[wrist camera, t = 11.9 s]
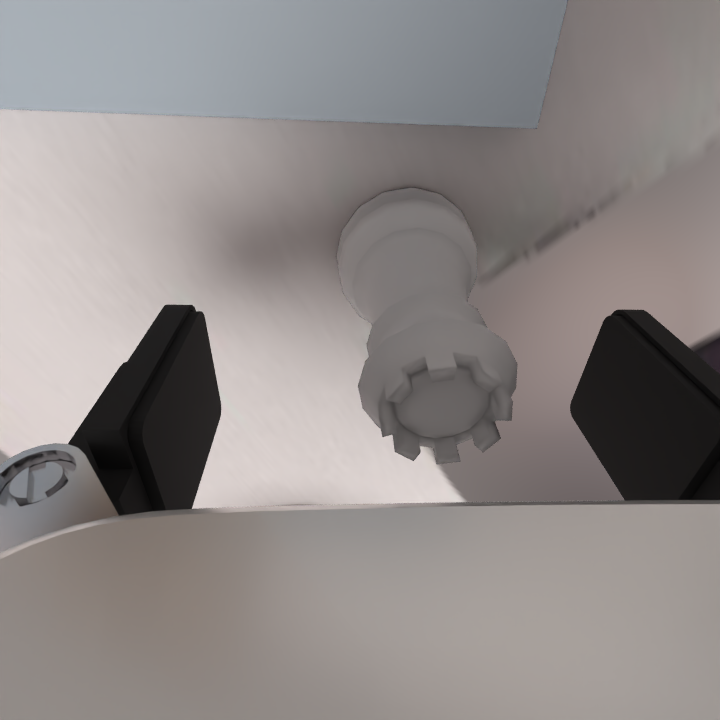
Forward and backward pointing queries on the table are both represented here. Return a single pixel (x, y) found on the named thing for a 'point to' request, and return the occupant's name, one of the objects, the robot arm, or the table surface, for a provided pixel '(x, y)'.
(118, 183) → the table surface
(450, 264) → the rook chess piece
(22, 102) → the build board
